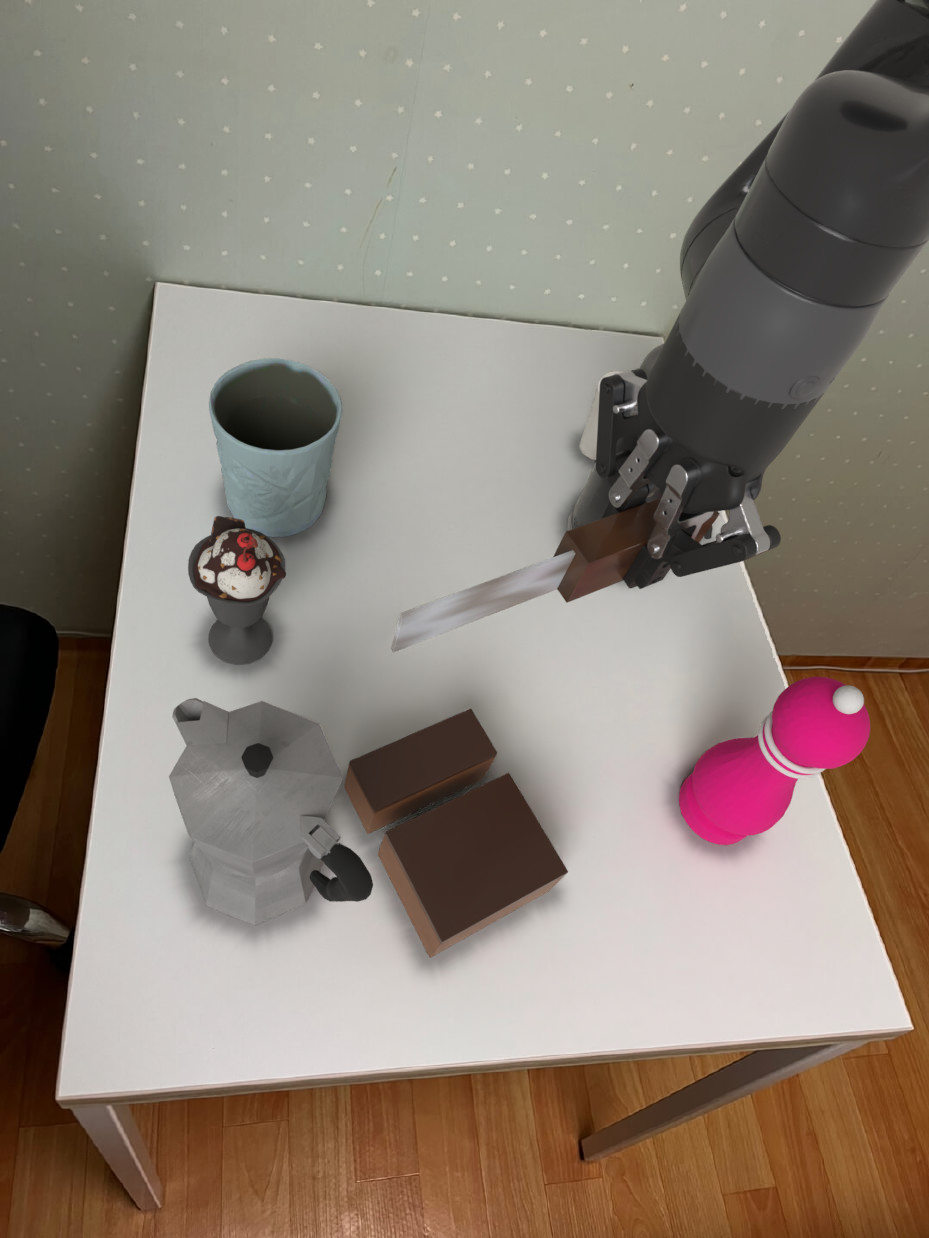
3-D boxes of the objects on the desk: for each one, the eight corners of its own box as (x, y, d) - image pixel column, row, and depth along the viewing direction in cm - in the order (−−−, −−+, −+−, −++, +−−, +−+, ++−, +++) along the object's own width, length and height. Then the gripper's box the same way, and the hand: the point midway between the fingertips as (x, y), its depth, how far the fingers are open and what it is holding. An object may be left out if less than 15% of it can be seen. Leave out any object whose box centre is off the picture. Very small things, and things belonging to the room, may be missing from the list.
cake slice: (458, 735, 68) (471, 707, 64) (483, 778, 67) (498, 753, 63) (343, 787, 64) (349, 760, 60) (367, 834, 63) (374, 810, 59)
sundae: (268, 684, 68) (269, 574, 55) (184, 661, 67) (166, 546, 55) (294, 616, 71) (301, 499, 59) (215, 594, 71) (204, 472, 58)
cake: (494, 796, 66) (509, 771, 62) (548, 891, 63) (568, 871, 59) (377, 854, 62) (385, 831, 58) (429, 958, 59) (442, 942, 55)
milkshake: (624, 469, 88) (662, 397, 80) (574, 462, 87) (606, 387, 79) (621, 437, 90) (657, 363, 82) (571, 429, 89) (603, 354, 81)
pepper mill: (706, 866, 66) (852, 765, 50) (655, 784, 69) (777, 663, 53) (774, 829, 69) (934, 722, 53) (723, 752, 72) (859, 628, 56)
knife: (670, 525, 56) (696, 484, 53) (692, 553, 55) (720, 514, 52) (381, 633, 47) (391, 592, 44) (401, 668, 46) (413, 630, 43)
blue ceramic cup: (335, 465, 81) (345, 366, 71) (329, 552, 75) (339, 458, 65) (223, 453, 79) (217, 350, 69) (209, 541, 74) (200, 443, 64)
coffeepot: (140, 839, 59) (99, 729, 45) (246, 750, 64) (240, 624, 49) (296, 1003, 56) (309, 943, 41) (396, 896, 61) (439, 808, 46)
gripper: (917, 428, 38) (735, 630, 52) (726, 233, 43) (608, 465, 58) (800, 471, 35) (640, 674, 49) (610, 255, 40) (515, 495, 54)
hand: (623, 560), depth 53 cm, fingers closed on knife, 2 cm apart
